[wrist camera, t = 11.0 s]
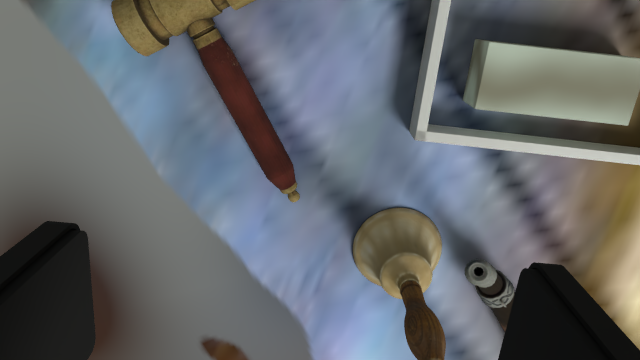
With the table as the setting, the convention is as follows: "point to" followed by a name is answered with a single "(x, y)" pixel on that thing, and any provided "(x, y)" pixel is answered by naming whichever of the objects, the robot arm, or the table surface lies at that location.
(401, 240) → the hand bell
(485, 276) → the antique flintlock pistol
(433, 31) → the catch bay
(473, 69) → the pale green block
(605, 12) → the table surface
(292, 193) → the gavel
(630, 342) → the robot arm
